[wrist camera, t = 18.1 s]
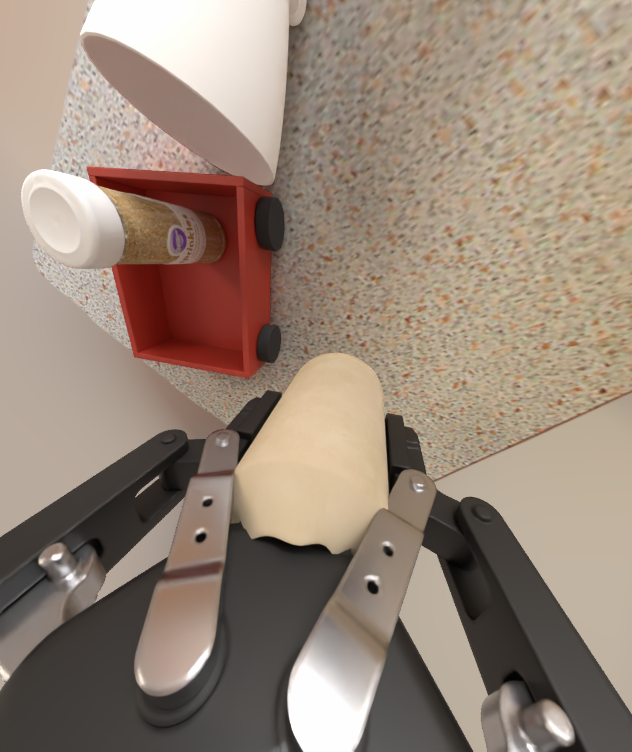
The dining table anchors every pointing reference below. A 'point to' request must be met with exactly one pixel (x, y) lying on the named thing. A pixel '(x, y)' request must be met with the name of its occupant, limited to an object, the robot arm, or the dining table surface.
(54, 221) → the sprinkles bottle
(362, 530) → the candle
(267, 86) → the rocket engine
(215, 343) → the cart
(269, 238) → the cart wheels
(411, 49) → the dining table surface
